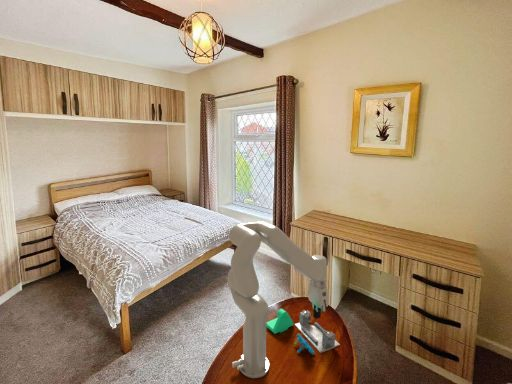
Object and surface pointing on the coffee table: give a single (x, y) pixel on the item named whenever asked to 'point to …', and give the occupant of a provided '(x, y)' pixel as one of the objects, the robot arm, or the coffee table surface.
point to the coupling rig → (316, 333)
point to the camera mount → (280, 322)
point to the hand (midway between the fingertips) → (316, 317)
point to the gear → (303, 344)
